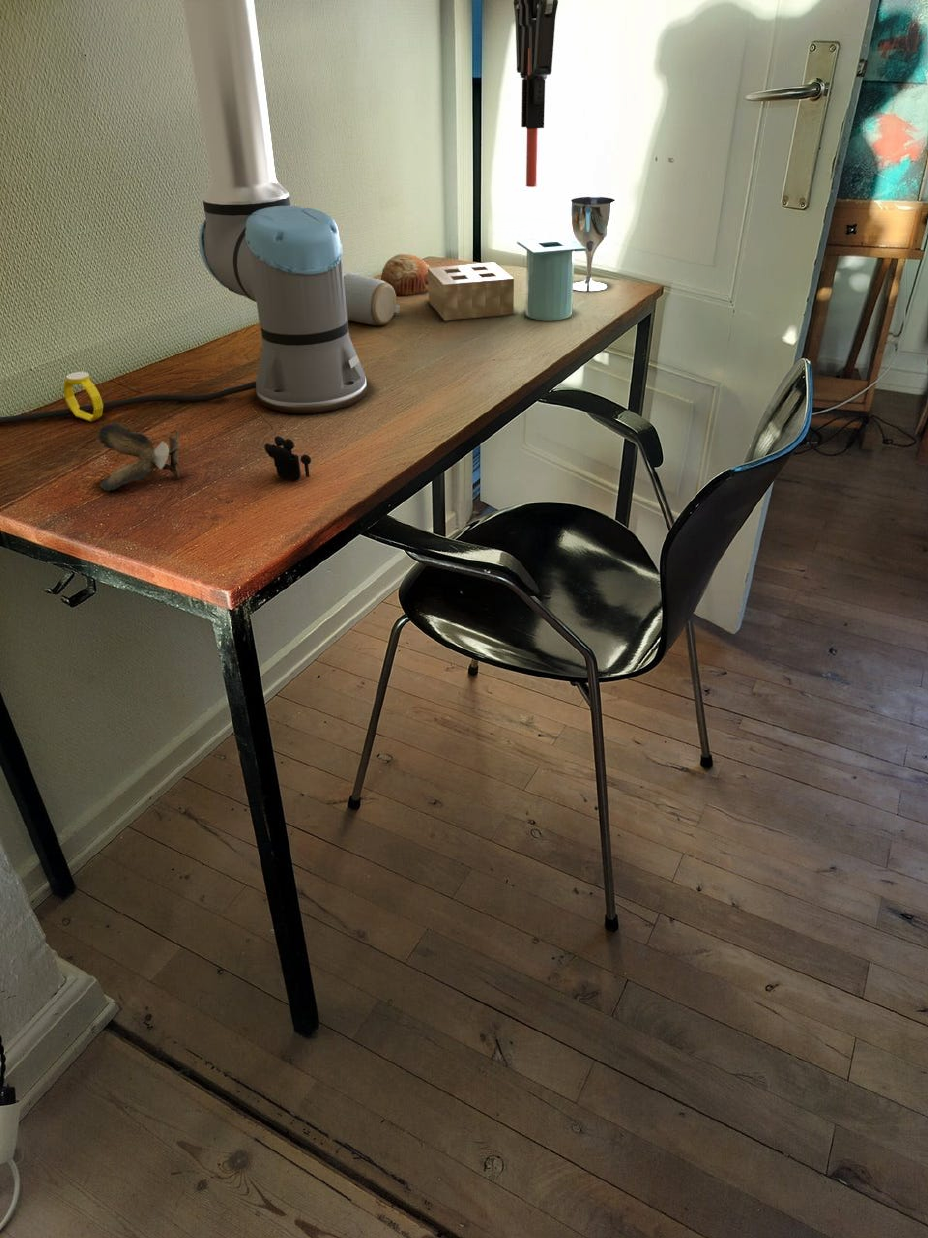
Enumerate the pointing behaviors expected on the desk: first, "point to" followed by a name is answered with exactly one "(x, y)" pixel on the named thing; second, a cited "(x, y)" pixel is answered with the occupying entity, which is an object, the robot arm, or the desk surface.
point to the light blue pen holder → (549, 285)
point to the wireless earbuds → (287, 459)
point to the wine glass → (591, 231)
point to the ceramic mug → (369, 299)
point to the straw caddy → (470, 291)
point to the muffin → (406, 274)
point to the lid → (563, 243)
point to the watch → (91, 390)
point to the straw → (531, 153)
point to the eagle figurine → (137, 454)
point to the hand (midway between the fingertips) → (532, 126)
